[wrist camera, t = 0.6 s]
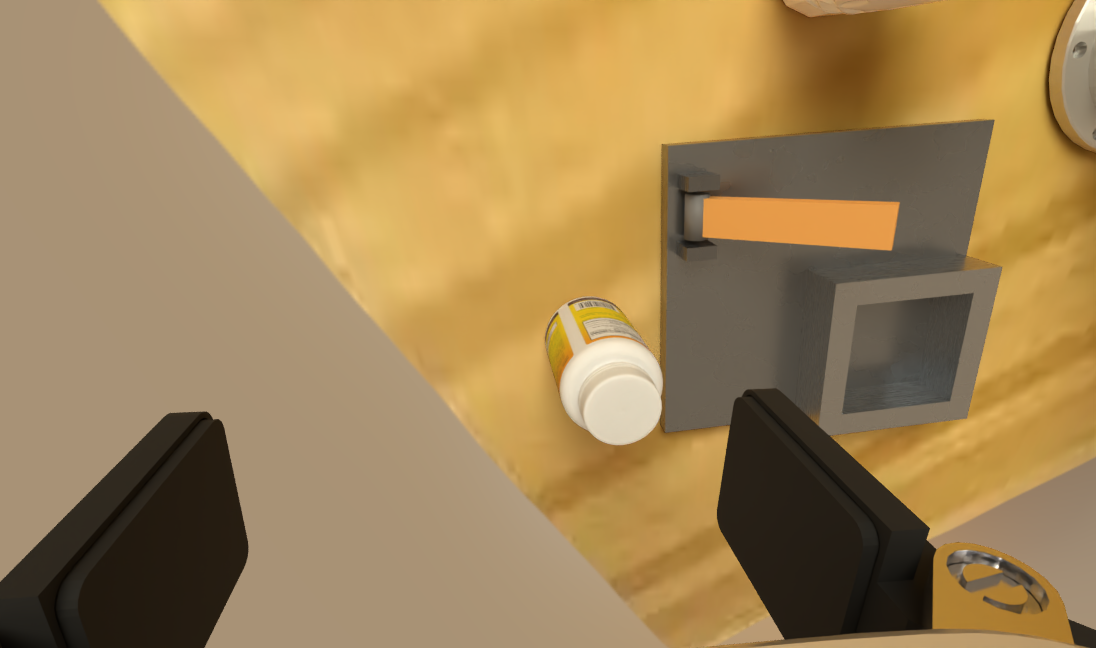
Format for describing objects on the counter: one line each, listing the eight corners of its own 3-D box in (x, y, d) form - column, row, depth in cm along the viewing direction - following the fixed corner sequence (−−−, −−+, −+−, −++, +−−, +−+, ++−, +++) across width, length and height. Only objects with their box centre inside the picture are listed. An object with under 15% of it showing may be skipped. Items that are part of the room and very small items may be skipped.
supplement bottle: (571, 386, 38) (602, 478, 29) (527, 323, 36) (544, 400, 27) (642, 343, 38) (697, 422, 28) (601, 276, 36) (645, 338, 26)
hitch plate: (978, 119, 35) (1040, 121, 31) (923, 391, 42) (969, 421, 38) (661, 144, 33) (686, 149, 29) (660, 423, 40) (679, 457, 36)
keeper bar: (901, 197, 28) (898, 202, 27) (892, 249, 29) (890, 255, 28) (690, 191, 33) (681, 195, 32) (689, 234, 34) (680, 240, 33)
